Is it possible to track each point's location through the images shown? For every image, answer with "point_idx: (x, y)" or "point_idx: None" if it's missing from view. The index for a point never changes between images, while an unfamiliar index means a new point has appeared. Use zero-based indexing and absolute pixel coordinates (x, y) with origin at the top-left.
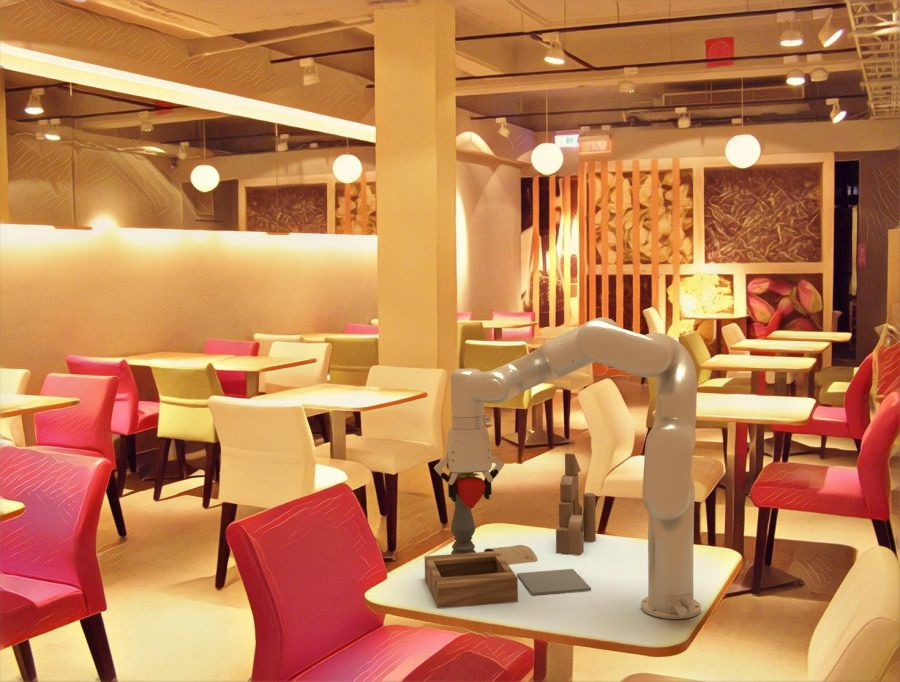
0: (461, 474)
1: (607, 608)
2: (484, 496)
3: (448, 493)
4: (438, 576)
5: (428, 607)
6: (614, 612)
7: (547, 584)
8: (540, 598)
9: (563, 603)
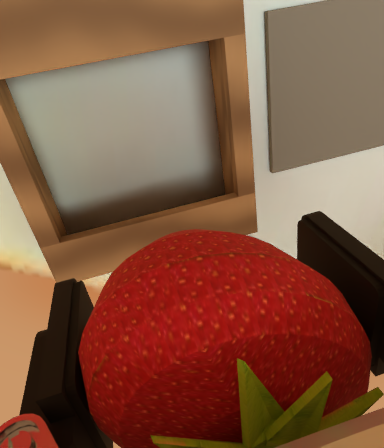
0: (183, 446)
1: (376, 229)
2: (300, 243)
3: (35, 345)
4: (48, 236)
5: (37, 247)
6: (378, 244)
7: (319, 116)
8: (283, 186)
9: (316, 210)
